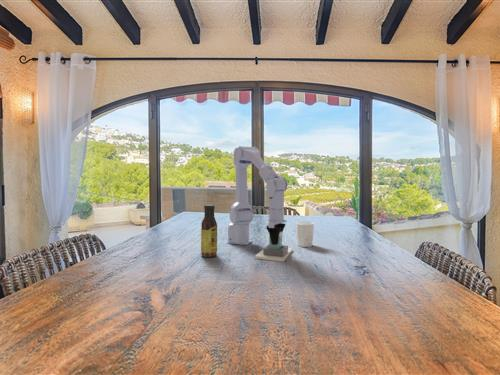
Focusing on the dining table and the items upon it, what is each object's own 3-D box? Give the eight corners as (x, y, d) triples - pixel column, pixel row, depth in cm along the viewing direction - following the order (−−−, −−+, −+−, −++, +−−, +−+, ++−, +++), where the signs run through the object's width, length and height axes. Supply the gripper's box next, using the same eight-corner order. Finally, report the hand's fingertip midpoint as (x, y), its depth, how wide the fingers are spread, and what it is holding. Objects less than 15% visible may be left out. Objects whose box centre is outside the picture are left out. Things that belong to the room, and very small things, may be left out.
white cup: (312, 243, 140) (313, 221, 139) (314, 247, 132) (314, 225, 132) (295, 242, 141) (295, 221, 140) (296, 247, 133) (296, 224, 132)
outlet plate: (255, 258, 116) (255, 249, 116) (267, 248, 131) (267, 240, 131) (283, 261, 112) (283, 252, 112) (292, 250, 127) (292, 242, 127)
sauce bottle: (214, 258, 116) (214, 206, 114) (198, 257, 117) (198, 205, 116) (219, 253, 122) (219, 204, 121) (204, 252, 123) (204, 203, 122)
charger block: (269, 250, 118) (269, 232, 118) (272, 248, 122) (272, 230, 122) (279, 251, 117) (279, 233, 116) (281, 249, 121) (282, 231, 120)
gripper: (281, 211, 110) (281, 248, 111) (290, 206, 124) (290, 239, 125) (263, 210, 113) (262, 246, 113) (273, 206, 126) (273, 238, 127)
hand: (275, 243), depth 119 cm, fingers closed on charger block, 4 cm apart
